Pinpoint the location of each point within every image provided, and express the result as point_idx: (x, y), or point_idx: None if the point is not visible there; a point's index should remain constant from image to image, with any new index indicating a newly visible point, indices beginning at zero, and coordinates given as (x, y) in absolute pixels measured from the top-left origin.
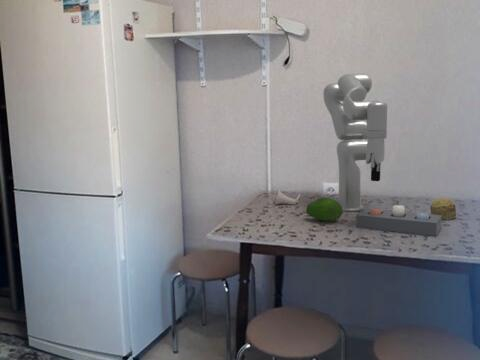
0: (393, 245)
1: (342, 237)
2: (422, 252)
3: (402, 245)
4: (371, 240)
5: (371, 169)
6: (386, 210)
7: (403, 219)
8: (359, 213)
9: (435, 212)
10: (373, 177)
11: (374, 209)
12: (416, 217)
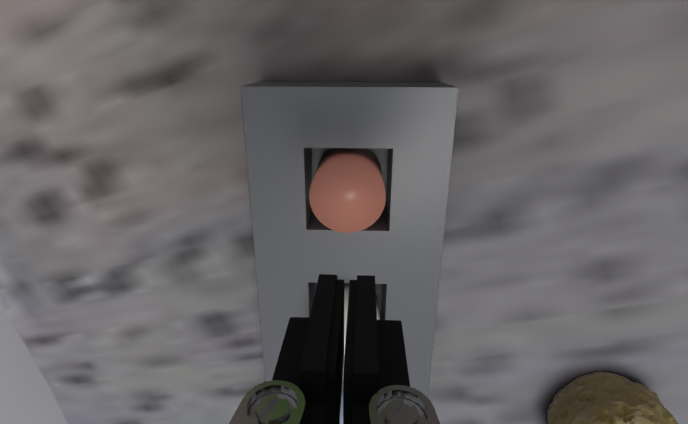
0: (81, 311)
1: (42, 75)
2: (71, 403)
3: (103, 338)
4: (88, 220)
5: (234, 418)
6: (434, 237)
7: (268, 351)
8: (290, 96)
9: (566, 417)
10: (289, 337)
11: (352, 189)
12: None
